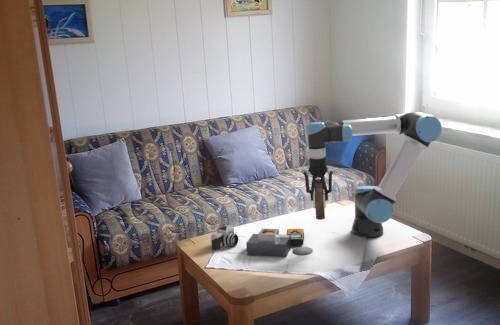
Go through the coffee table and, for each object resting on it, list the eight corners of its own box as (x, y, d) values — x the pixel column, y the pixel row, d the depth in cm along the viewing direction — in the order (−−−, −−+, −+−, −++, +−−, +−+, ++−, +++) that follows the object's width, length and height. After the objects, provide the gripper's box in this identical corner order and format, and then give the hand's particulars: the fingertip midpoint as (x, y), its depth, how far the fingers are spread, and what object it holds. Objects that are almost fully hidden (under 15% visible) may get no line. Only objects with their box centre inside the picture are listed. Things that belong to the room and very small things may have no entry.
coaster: (314, 247, 242) (314, 247, 242) (311, 255, 234) (311, 254, 234) (294, 247, 245) (294, 246, 245) (291, 254, 236) (291, 253, 236)
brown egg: (274, 242, 242) (274, 232, 241) (272, 246, 238) (272, 235, 237) (265, 242, 244) (265, 231, 243) (263, 245, 240) (262, 235, 238)
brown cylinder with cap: (325, 216, 243) (323, 178, 239) (324, 219, 239) (322, 181, 235) (316, 216, 244) (314, 178, 240) (315, 219, 240) (313, 181, 236)
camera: (223, 254, 242) (222, 233, 240) (208, 251, 247) (207, 230, 245) (243, 242, 255) (242, 222, 253) (228, 239, 260) (227, 220, 258)
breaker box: (291, 247, 245) (290, 227, 243) (286, 257, 234) (285, 237, 232) (254, 245, 250) (252, 226, 248) (247, 255, 239) (245, 235, 237)
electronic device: (304, 234, 260) (303, 227, 260) (304, 245, 245) (304, 238, 245) (286, 234, 261) (286, 227, 261) (286, 245, 246) (285, 238, 245)
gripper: (337, 155, 237) (339, 205, 241) (300, 155, 241) (302, 204, 246) (335, 158, 230) (337, 210, 234) (297, 159, 234) (300, 209, 239)
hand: (319, 207), depth 240 cm, fingers closed on brown cylinder with cap, 4 cm apart
